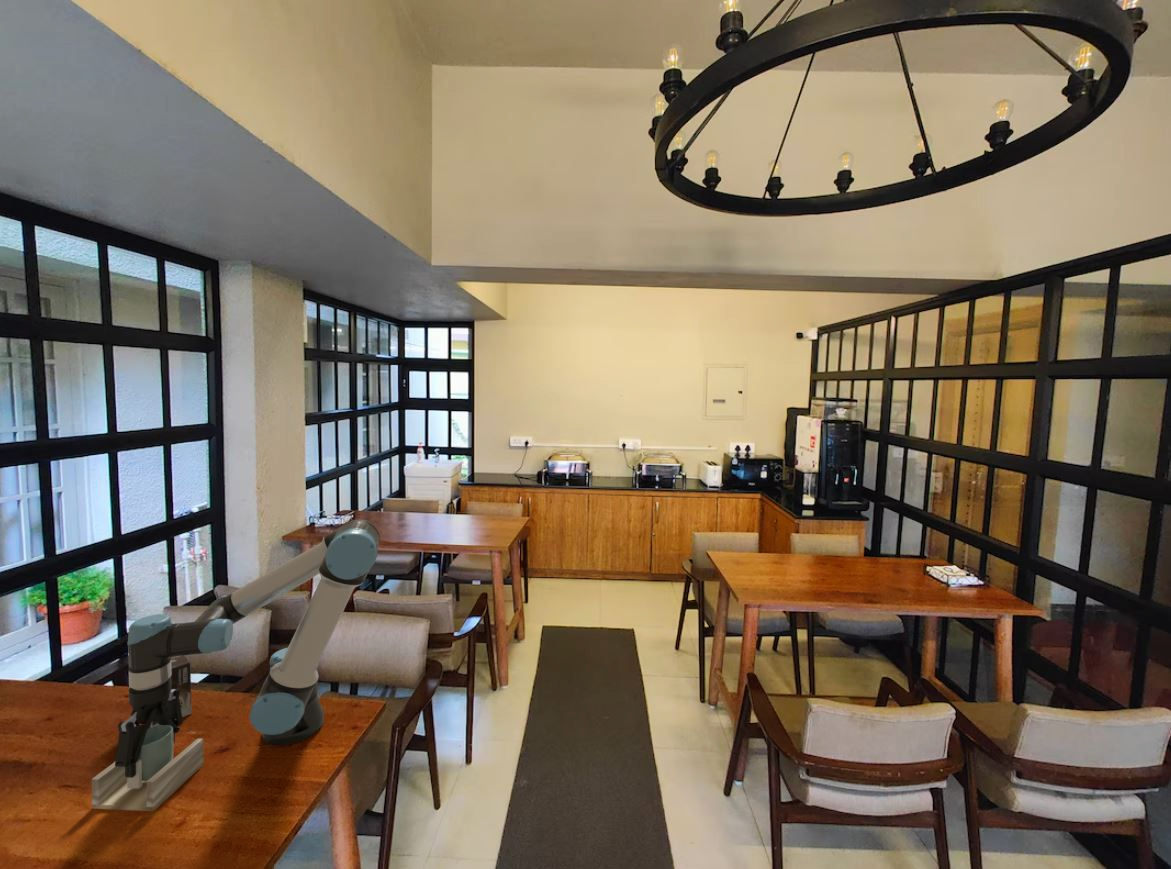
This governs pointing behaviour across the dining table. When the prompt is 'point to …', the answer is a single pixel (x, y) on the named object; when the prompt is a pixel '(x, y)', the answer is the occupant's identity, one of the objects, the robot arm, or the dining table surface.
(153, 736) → the cup
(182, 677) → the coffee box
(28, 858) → the dining table surface
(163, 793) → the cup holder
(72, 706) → the dining table surface
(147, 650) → the robot arm
